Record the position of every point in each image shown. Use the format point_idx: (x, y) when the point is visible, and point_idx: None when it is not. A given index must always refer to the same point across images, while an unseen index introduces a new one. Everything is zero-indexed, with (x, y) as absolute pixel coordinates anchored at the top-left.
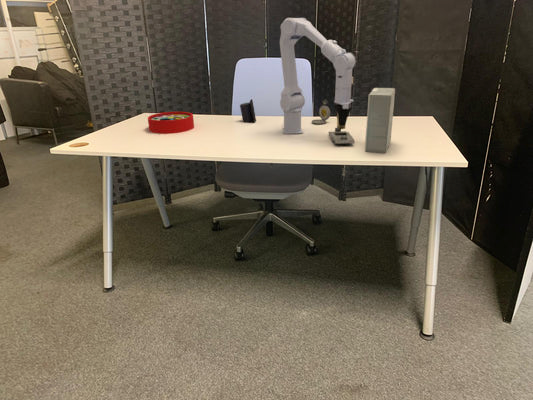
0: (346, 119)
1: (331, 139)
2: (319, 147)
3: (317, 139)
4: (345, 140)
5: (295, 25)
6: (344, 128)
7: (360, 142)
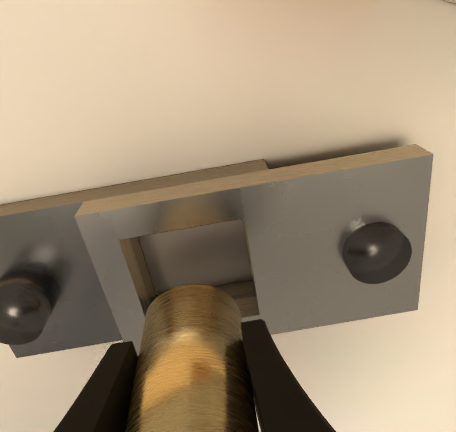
0: (295, 379)
1: None
2: (395, 357)
3: None
4: (424, 233)
5: None
6: (225, 293)
7: (263, 65)
